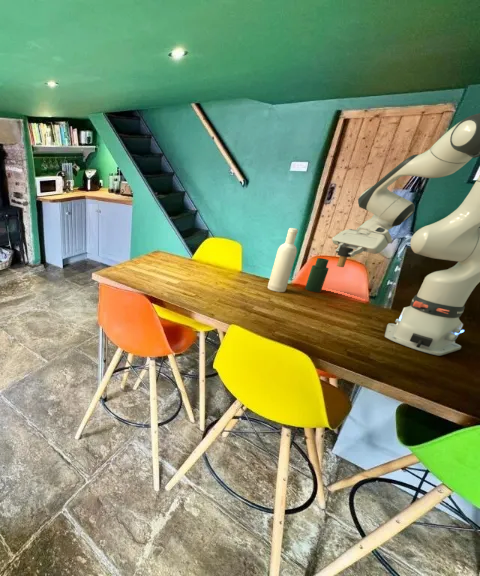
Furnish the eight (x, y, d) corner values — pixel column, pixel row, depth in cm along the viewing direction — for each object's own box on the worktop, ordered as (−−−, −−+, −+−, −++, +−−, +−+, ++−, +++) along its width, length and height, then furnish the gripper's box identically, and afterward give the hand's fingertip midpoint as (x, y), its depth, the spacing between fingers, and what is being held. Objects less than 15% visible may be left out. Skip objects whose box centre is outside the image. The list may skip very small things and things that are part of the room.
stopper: (344, 268, 133) (351, 249, 130) (331, 265, 136) (338, 247, 134) (348, 267, 135) (355, 248, 132) (336, 264, 139) (342, 246, 136)
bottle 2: (317, 293, 147) (327, 261, 141) (302, 288, 152) (312, 258, 146) (323, 291, 150) (333, 260, 145) (308, 287, 155) (318, 257, 150)
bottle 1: (286, 293, 143) (305, 230, 133) (267, 290, 146) (284, 228, 136) (284, 288, 150) (302, 228, 140) (266, 285, 153) (282, 226, 143)
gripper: (344, 223, 141) (320, 243, 142) (392, 231, 122) (364, 254, 123) (349, 233, 143) (325, 253, 144) (396, 242, 124) (368, 264, 126)
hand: (343, 253), depth 134 cm, fingers closed on stopper, 5 cm apart
